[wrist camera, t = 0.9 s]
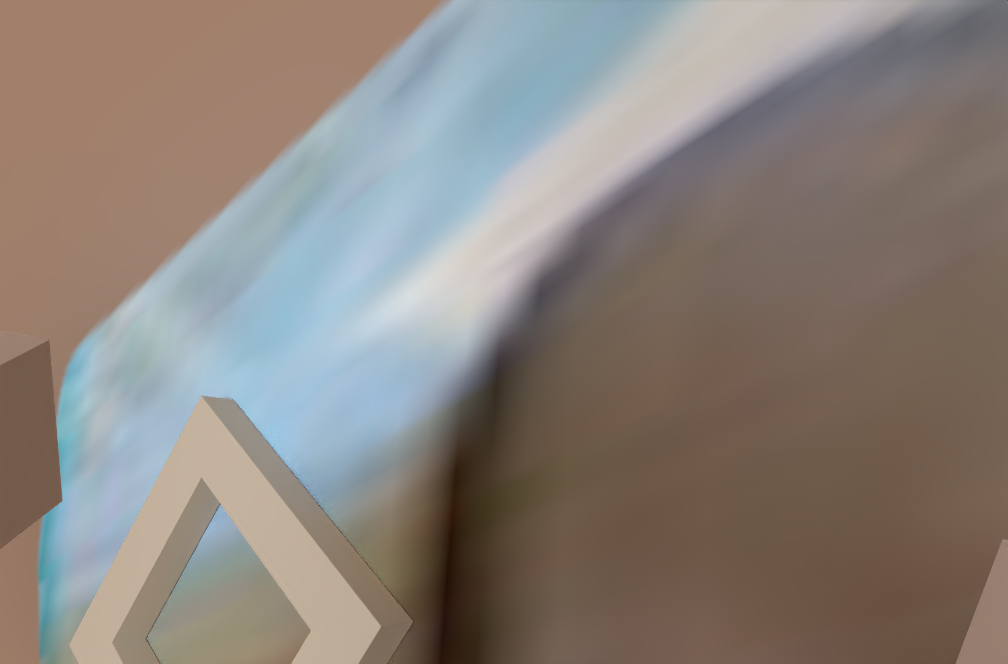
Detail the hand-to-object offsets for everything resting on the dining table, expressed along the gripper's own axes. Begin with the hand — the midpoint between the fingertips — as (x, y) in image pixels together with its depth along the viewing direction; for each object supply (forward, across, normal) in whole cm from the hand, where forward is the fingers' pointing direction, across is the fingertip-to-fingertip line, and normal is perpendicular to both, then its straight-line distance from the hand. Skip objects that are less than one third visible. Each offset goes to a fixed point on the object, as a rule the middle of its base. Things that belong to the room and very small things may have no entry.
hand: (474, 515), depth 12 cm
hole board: (+23, -16, -26) cm, 38 cm away
